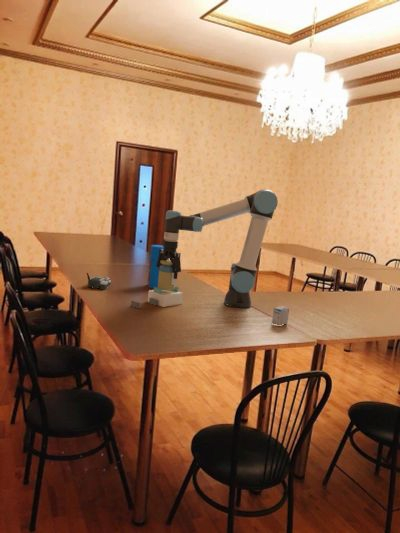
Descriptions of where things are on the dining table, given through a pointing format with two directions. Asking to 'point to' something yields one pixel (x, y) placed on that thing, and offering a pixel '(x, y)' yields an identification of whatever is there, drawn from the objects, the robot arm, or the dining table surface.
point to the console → (162, 297)
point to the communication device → (98, 282)
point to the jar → (165, 275)
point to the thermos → (154, 266)
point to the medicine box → (280, 315)
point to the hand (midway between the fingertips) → (167, 282)
